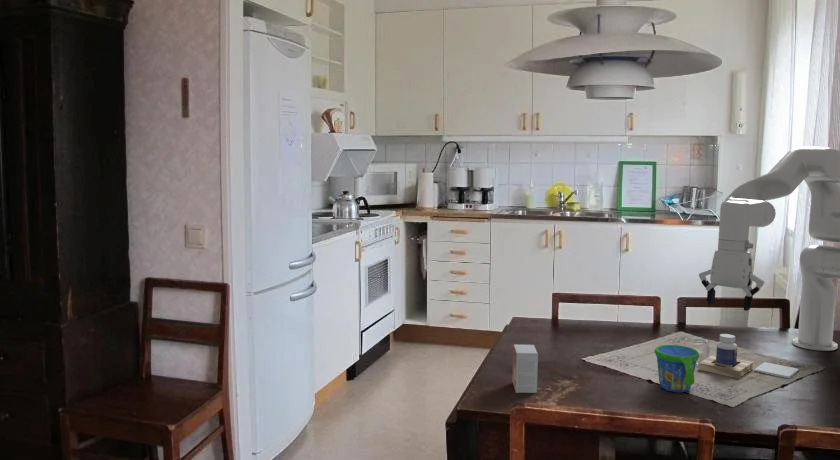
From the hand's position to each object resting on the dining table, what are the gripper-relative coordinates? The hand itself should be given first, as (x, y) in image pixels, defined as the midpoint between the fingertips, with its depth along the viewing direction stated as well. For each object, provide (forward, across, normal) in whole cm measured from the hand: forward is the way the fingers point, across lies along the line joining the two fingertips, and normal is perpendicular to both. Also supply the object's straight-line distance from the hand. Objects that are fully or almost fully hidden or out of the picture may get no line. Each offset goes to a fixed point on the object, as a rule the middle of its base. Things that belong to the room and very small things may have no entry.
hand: (728, 307), depth 203 cm
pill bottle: (+18, 0, 0) cm, 18 cm away
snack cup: (+18, +4, +25) cm, 31 cm away
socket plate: (+18, 0, 0) cm, 18 cm away
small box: (+19, +33, +51) cm, 63 cm away
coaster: (+18, -11, -8) cm, 23 cm away
